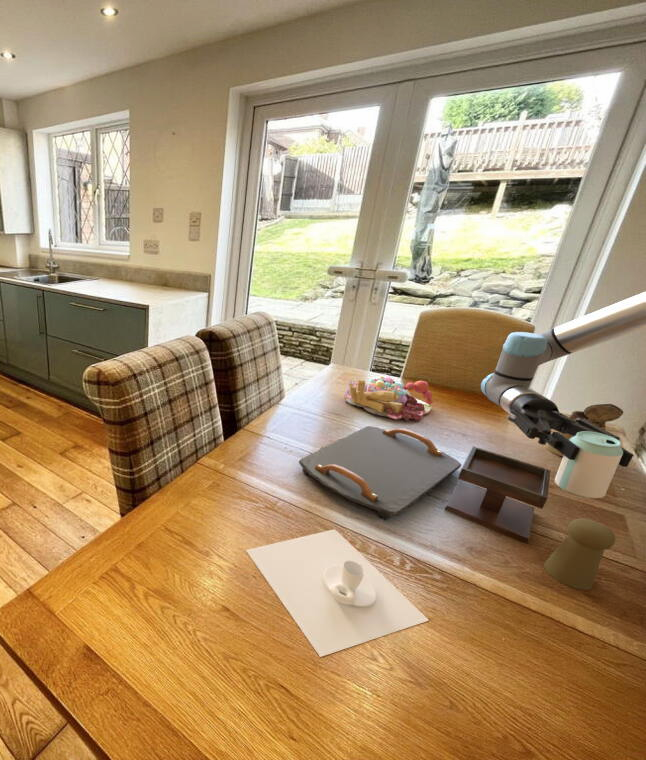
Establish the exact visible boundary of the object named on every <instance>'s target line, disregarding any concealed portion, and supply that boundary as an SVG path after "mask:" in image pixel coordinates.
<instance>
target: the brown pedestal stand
mask: <svg viewBox="0 0 646 760" xmlns="http://www.w3.org/2000/svg"><path fill="white" fill-rule="evenodd" d="M551 472H552V470H551V469H548V468H544V467H541V466H538V465H534V464H533V463H532V464H531V463H528V462H525V461H522V460H519V459H515V458H512V457H509V456H506V455H503V454H500V453H496V452H493V451H490V450H486V449H484V448H480V447H477V446H473V445H472V446H471V448H470V450H469V452H468V455H467V456H466V458H465V461H464V463H463V465H462V467H461V469H460V471H459V474H458V477H457V479H458V480H457V482H456V484H455V487H454V489H453V490H452V493H451V495H450V496H449V499H448V501H447V503H446V505H445V507H444V510H445V511H447V512H449V513H452V514H454V515H457V516H459V517H462V518H463V519H467V520H469V521H471V522H474V523H476V524H479V525H481V526H483V527H485V528H488V529H490V530H492V531H495V532H498V533H500V534H503V535H505V536H506V537H507V536H508V537H510V538H512V539H514V540H518V541H519V542H522V543H524V544H528V542H529V541H530V537H531V532H532V531H531V530H532V525H533V520H534V519H533V517H534V511H535V508H538V509H541V510H543V508H544V507H545V504H546V503H547V501H548V498H549V490H550V489H549V488H550V480H551Z"/></svg>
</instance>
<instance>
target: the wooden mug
mask: <svg viewBox="0 0 646 760" xmlns="http://www.w3.org/2000/svg"><path fill="white" fill-rule="evenodd" d="M623 414H624V411H623V409H621V408H620V407H618V406H617V405H615V404H613V403H601V404H593V405H589V406H587V407H585V409H584V410H583V411H582V410H574V411H572V413H571V414H570V415H568V416H567V417H569V418H571V419H575V420H576V419H577V418H578V417H583V418H585V419H586V420H587V421H588V422H590V423H592V424H594V425H596V426H598V427H600V428H602V429H604V430H606V428H607V425H606V423H607V422H613V421H615V420H618V419H620V418H621V417H622V416H623ZM606 431H607V430H606ZM557 432H558V431H557ZM558 433H560V432H558ZM560 434H561V435H562V436H564V437H565V438H567V439H568V440H569V439H570V438H572V437H574V436H572V435H570V434H562V433H560ZM546 448H547V450H549V451H550V452H551V453H553V454H555V455H556V456H559V457H562V458H563V456H564V455H563V454H562V453H560V452H559V451H558V450H557V449H555V448H554V447H553V446H551V445H549V444H548V443H547V444H546Z"/></svg>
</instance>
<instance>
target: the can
mask: <svg viewBox="0 0 646 760" xmlns="http://www.w3.org/2000/svg"><path fill="white" fill-rule="evenodd" d="M569 441H571V442H572V443H574V444H575V445H576V446H578V447H579V448H580V450H579V452H578V454H577V456H576V458H575V460H570V459H568V458H567V457H566V456H563V457H562V459H561V461H560V463H559V467H558V469H557V472H556V475H555V478H554V483H555V484H556V485H557V486H558V488H560V489H562V490H563V491H565V492H567V493H568V494H571V495H573V496H577V497H579V498H584V499H600V498H604V497H605V496H606V494H607V491H608V489H609V487H610V484H611V483H612V480H613V478H614V475H615V473H616V471H617V468H618V466H619V462H620V459H621V457H622V455H623V450H622V448H623V447H622V442H621V441H620V440H617V439H615V438H613V437H611V436H608V435H605V434H601V433H597V432H589V431H582V432H578V433H577V434H576V436H574V437H572V438H570V439H569ZM621 447H622V448H621Z"/></svg>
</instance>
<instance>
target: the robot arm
mask: <svg viewBox="0 0 646 760" xmlns="http://www.w3.org/2000/svg"><path fill="white" fill-rule="evenodd" d="M644 329H646V291H644V292H641V293H639V294H636V295H634V296H631V297H629V298H626V299H624V300H620V301H619V302H616V303H614V304H611V305H609V306H606V307H603V308H601V309H599V310H596V311H593V312H591V313H588V314H586V315H583V316H581V317H579V318H576V319H573V320H571V321H568V322H566V323H563V324H560V325H558V326H556V327H553V328H551V329H548V330H545V331H543V332H541V333H533V332H524V331H515V332H511V333H510V334H508V336H507V338H506V340H505V342H504V343H503V345H502V350H501V352H500V356H499V359H498V360H497V364H496V367H495V370H494V371H493V373H490V374H488V375H487V376H486V377H484V378H483V380H482V381H481V383H480V389H481V392H482V393H483V394H484V396H485V397H486V398H487V399H488V400H489V401H491V402H492V403H494V404H495V405H497V406H498V407H500V408H501V409H502V410H504V411H505V412H506V413H508V414H509V416H508V417H507V420H508V421H510V422H512V423H513V424H514V425H515V426H516V427H518V429H519V430H520V431H521V432H522V433H523V435H525V436H526V438H529V439H531V440H534V439H536V438H537V439H538V441H537V443H538V444H540V445H543V446H545V445H546V446H547V445H548V444H549V445H551V446H553V447H554V448H555V449H557V450H558V451H559V452H560V453H562V454H563V455H564V456H566V457H567V458H568V459H570V460H575V458H576V456H577V454H578V452H579V450H580V448H579V447H578V446H576V445H575V444H574V443H572V442H571V441H569V440H568V439H567V438H565V437H564V436H562V435H561V434H560V433H562V434H570V435H572V436H576V434H577V433H578V432H582V431H589V432H597V433H601V434H605V435H608V436H611V437H613V438H615V439H617V440H619V441H620V440H621V438H620V437H619V436H617V435H615V434H614V433H612V432H610V431H608V430H604V429H602V428H600V427H598V426H596V425H594V424H592V423H590V422H588V421H587V420H586V419H585V418H583V417H578V418H577V419H576V420H575V419H571V418H569V417H568V416H567V415H565V414H563V413H561V412H560V411H559V407H558V406H557V404H556V403H555V402H554V401H552V400H551V399H549V398H548V397H546V396H544V394H543V395H542V394H541V393H539V392H538V391H537V390H534V389H533V388H531V384H532V381H533V380H534V377H535V374H536V372H537V370H538V368H539V366H541V365H543V364H545V363H548V362H551V361H554V360H557V359H559V358H560V359H561V358H563V357H566V356H568V355H571V354H573V353H576V352H579V351H583V350H585V349H589V348H591V347H594V346H597V345H600V344H603V343H605V342H606V343H607V342H609V341H612V340H615V339H617V338H621V337H624V336H626V335H629V334H632V333H635V332H639V331H642V330H644ZM552 430H554V431H552ZM558 432H560V433H558ZM620 447H621V448H622V450H623V455H622V457H621V459H620V462H619V464H618V466H621V467H623V468H628V466H629V464H630V462H631V461H632V458H633V457H634V454H633V453H631V452H630V451H628V450H627V449H626V448H624V447H622V446H620Z"/></svg>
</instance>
